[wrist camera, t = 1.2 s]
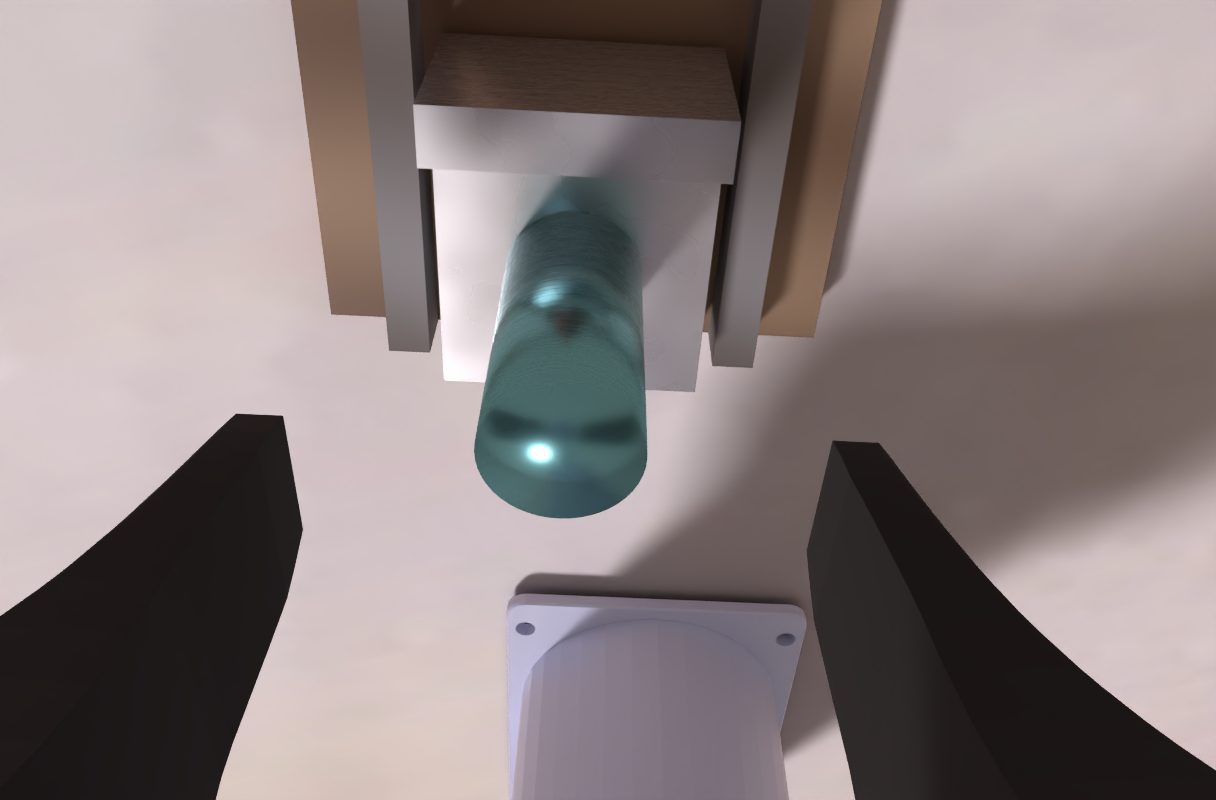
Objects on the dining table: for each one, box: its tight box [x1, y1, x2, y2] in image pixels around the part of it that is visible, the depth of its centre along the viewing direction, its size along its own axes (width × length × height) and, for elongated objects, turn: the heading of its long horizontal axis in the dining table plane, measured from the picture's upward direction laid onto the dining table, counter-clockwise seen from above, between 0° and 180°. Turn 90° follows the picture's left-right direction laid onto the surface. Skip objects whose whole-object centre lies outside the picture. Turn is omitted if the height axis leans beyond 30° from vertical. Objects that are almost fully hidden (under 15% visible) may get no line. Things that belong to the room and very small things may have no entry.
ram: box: [413, 33, 741, 518], centre depth 17 cm, size 6×5×7 cm
